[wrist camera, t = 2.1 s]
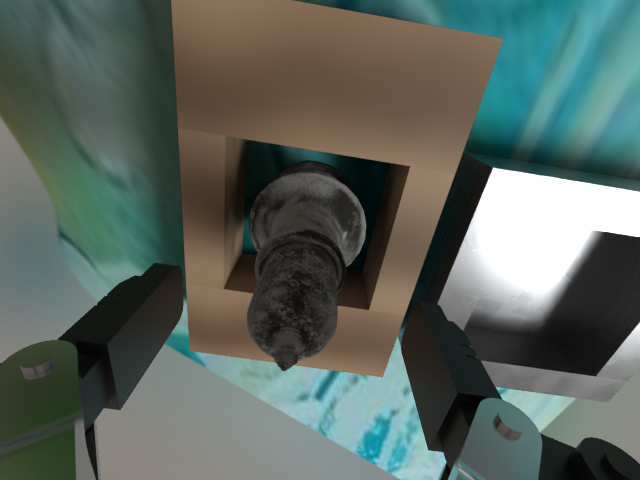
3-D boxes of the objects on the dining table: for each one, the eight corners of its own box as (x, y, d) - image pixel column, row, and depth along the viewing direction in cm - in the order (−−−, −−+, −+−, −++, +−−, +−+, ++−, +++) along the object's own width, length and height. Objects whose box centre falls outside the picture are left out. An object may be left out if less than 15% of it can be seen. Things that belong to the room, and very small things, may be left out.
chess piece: (249, 226, 19) (147, 402, 9) (283, 137, 17) (201, 229, 6) (334, 261, 20) (337, 459, 10) (378, 182, 18) (449, 330, 7)
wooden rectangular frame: (210, 4, 14) (169, -23, 11) (461, 49, 15) (503, 38, 11) (212, 308, 22) (189, 350, 19) (374, 331, 23) (382, 377, 19)
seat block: (458, 150, 17) (493, 167, 13) (683, 187, 17) (775, 214, 14) (396, 329, 23) (408, 374, 19) (565, 353, 23) (608, 402, 20)
